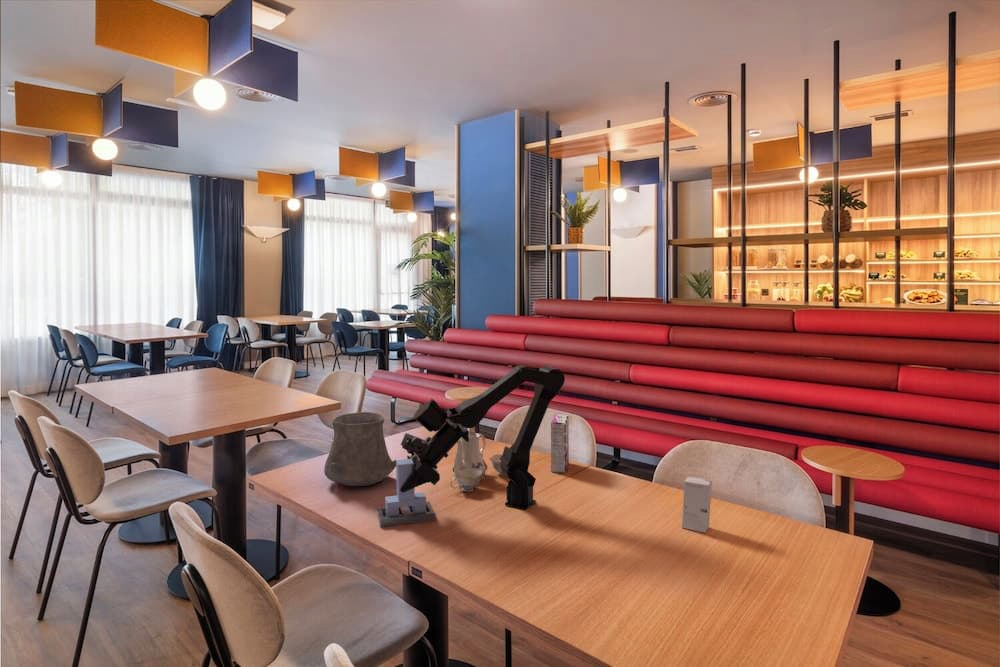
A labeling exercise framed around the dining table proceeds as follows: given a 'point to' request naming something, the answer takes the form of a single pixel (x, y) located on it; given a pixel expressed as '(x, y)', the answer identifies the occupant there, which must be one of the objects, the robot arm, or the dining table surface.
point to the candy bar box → (559, 443)
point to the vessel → (358, 450)
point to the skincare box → (696, 504)
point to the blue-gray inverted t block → (407, 497)
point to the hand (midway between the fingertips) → (400, 488)
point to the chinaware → (472, 462)
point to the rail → (405, 516)
